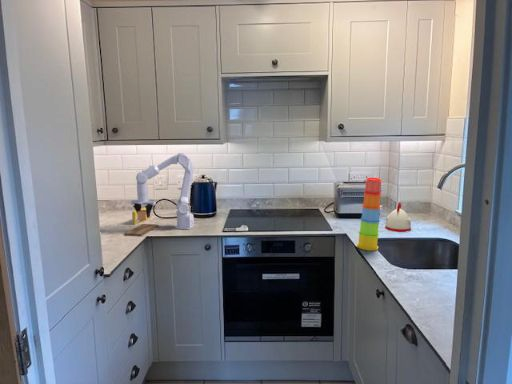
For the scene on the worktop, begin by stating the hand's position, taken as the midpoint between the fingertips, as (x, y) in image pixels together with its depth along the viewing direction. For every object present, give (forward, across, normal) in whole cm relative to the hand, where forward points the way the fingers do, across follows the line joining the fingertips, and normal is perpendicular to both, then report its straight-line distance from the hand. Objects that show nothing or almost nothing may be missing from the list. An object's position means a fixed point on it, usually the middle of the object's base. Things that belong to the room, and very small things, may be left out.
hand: (144, 216), depth 216 cm
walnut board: (+8, -2, 0) cm, 9 cm away
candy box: (+9, -13, +19) cm, 25 cm away
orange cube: (+1, 0, 0) cm, 1 cm away
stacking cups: (+8, +124, -6) cm, 124 cm away
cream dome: (+8, +143, +32) cm, 147 cm away
